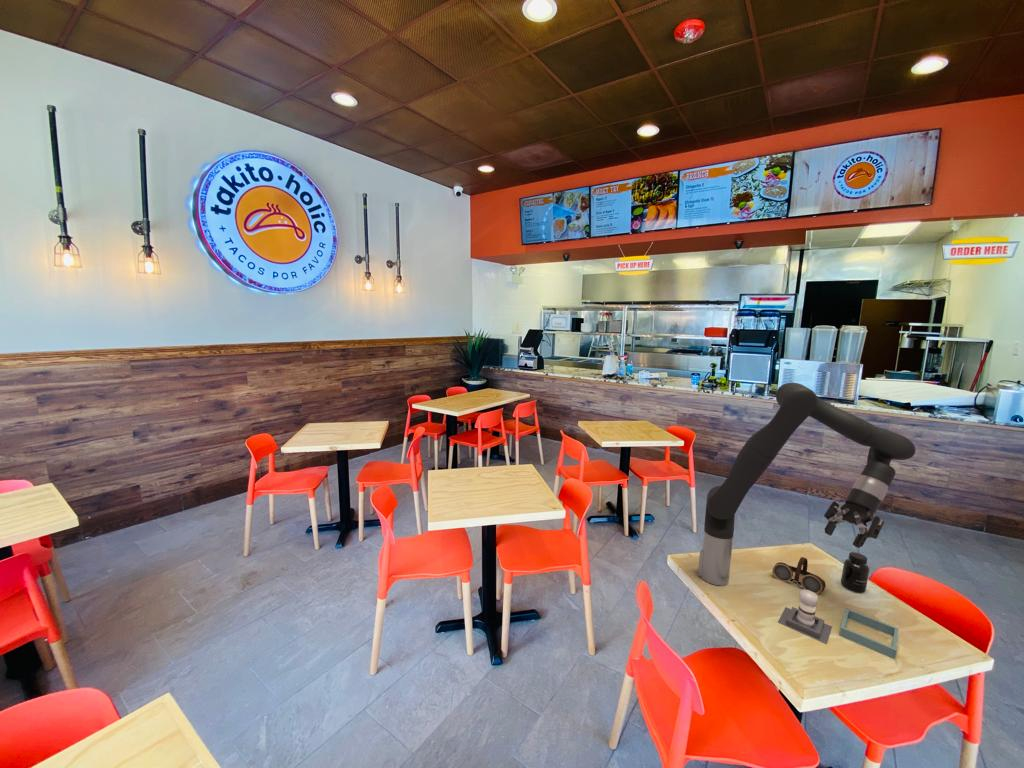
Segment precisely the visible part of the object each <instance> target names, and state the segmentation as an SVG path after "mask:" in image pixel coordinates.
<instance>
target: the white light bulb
mask: <svg viewBox="0 0 1024 768" xmlns="http://www.w3.org/2000/svg"><path fill="white" fill-rule="evenodd" d="M818 598H819V596H818V594H815V593H814V592H812V591H810V590H805V589H803V590H802V589H800V593H799V603H798V604H799V605H798V609H799V610H798V614H797V621H796V622H798V623H801V624H803V625H805V626H808V627H810V628H812V629H813V628H814V621H815V619H814V618H815V616H816V610H817V605H818Z"/></svg>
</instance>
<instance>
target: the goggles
mask: <svg viewBox="0 0 1024 768" xmlns="http://www.w3.org/2000/svg"><path fill="white" fill-rule="evenodd" d="M808 566H809V565H808V558H806V557H804V556H801V557H800V558H799V561H798V563H797V565H796V566H793V565H789V564H787V563H786V562H783V561H781V562H776V563H775V564H774V565H773V567H772V574H773V577H774V578H775V579H776V580H778V581H780V582H783V583H786V584H788V585H792V584H793V583H794V584H795V585H797V587H798V588H799V589H800V590H803V589H805V590H810V591H812V592H814V593H815V594H817V595H818V594H822V593H823V592H824V591H825V589H826V586H827V585H826V581H825V580H824V579H823V578H821V576H819V575H818V574H815V573H812V572H810V571H808ZM800 575H802V577H801V579H800ZM793 577H794V578H793Z"/></svg>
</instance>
